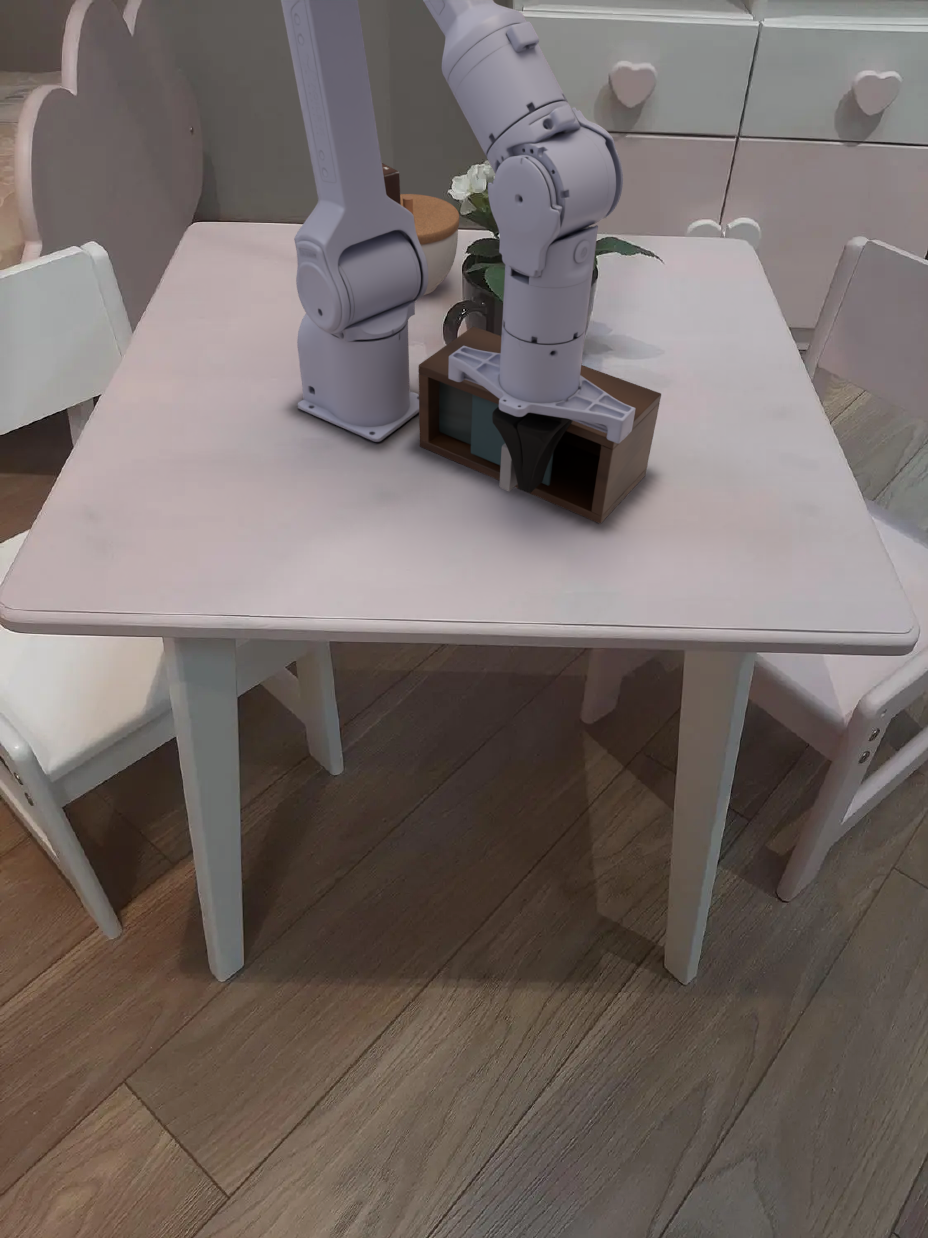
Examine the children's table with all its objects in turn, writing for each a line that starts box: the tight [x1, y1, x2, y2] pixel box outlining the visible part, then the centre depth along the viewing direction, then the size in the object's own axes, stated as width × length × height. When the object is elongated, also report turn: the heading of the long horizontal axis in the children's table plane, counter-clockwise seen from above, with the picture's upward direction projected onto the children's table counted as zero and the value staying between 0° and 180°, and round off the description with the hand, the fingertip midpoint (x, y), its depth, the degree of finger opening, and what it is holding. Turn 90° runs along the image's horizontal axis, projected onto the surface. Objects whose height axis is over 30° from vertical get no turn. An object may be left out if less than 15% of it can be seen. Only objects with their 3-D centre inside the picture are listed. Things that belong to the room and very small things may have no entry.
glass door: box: [471, 395, 554, 492], centre depth 75 cm, size 4×8×6 cm, turn 56°
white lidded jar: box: [400, 193, 460, 297], centre depth 100 cm, size 11×11×9 cm
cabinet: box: [418, 326, 662, 525], centre depth 78 cm, size 8×18×8 cm, turn 56°
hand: (530, 484), depth 73 cm, fingers closed, pressing on cabinet
